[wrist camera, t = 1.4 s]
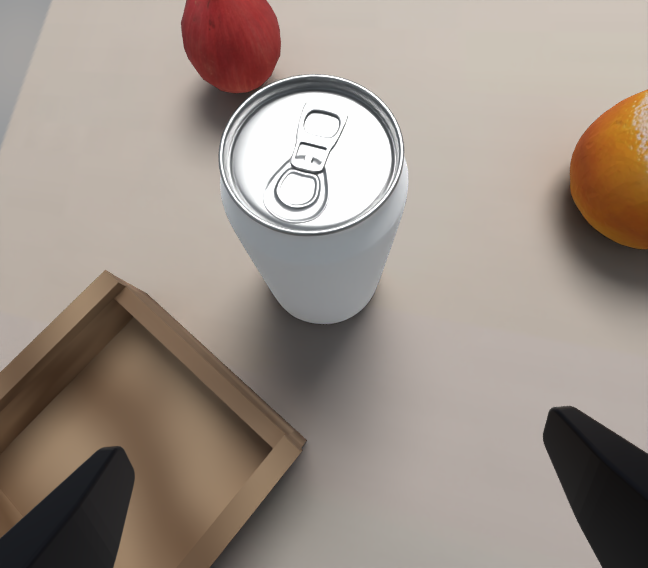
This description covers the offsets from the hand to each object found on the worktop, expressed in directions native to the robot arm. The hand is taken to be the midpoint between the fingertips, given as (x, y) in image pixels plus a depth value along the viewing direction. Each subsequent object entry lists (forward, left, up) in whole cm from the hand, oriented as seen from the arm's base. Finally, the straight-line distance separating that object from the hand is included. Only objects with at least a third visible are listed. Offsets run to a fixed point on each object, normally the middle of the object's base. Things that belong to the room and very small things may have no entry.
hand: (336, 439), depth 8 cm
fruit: (+21, -5, -13) cm, 25 cm away
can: (+6, +6, -13) cm, 16 cm away
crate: (-8, +7, -13) cm, 17 cm away
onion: (+13, +19, -13) cm, 26 cm away
